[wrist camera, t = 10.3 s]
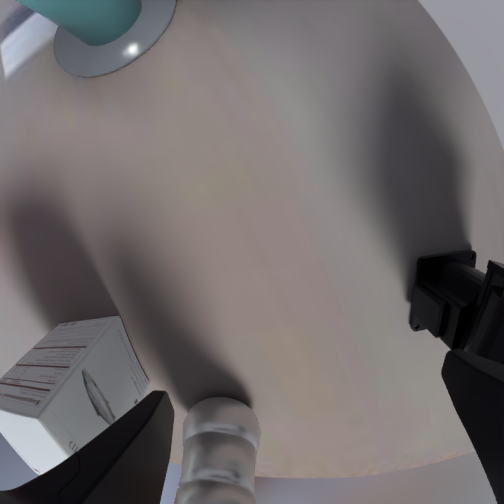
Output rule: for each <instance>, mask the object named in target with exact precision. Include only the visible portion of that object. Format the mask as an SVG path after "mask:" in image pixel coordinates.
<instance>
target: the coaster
mask: <svg viewBox="0 0 504 504" xmlns="http://www.w3.org/2000/svg"><path fill="white" fill-rule="evenodd" d="M141 3H142V8H141V12H140V15H139V17H138V19H137V21H136V22H135V23H134V25H133V26H132V27H131V28H130V29H129V30H128V31H127V32H126V33H125V34H124V35H122V36H121V37H119V38H118V39H116V40H114V41H113V42H110V43H108V44H105V45H101V46H90V45H87V44H85V43H84V42H82V41H81V40H80V39H78V38H76V37H75V36H73V35H72V34H70V33H69V32H67V31H66V30H64V29H63V28H61V27H60V26H58V28H57V31H56V35H55V40H54V53H55V57H56V60H57V62H58V64H59V65H60V66H61V68H63V69H64V70H65V71H66V72H68V73H70V74H72V75H75V76H78V77H97V76H102V75H106V74H109V73H112V72H114V71H117V70H119V69H121V68H123V67H125V66H126V65H128V64H130V63H131V62H133V61H135V60H136V59H137V58H139V57H140V56H142V55H143V54H144V53H145V52H146V51H147V50H149V49H150V48H151V47H152V46H153V45H154V44H155V43H156V42H157V40H158V39H159V38H160V37H161V36H162V35H163V33H164V32H165V30H166V29H167V27H168V26H169V24H170V22H171V20H172V18H173V15H174V12H175V8H176V0H141Z"/></svg>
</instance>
